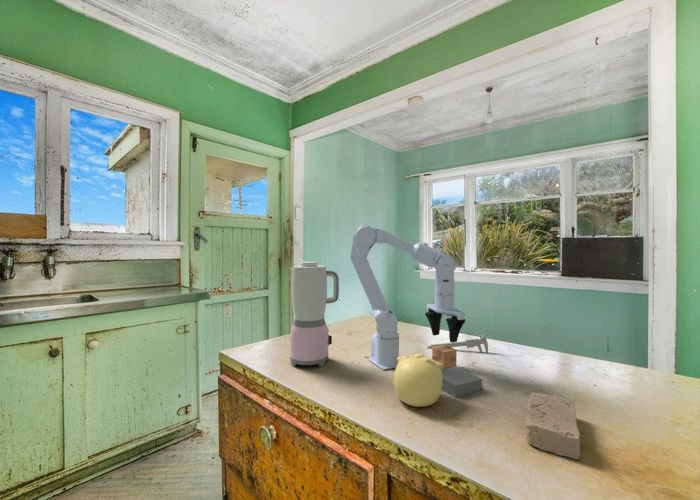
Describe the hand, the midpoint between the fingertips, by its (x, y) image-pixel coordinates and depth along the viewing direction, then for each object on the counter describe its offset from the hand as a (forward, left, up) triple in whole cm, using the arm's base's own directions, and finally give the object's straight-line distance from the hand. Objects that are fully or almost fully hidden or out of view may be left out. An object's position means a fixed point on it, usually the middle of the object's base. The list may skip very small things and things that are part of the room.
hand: (444, 338), depth 95 cm
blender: (-22, -34, -9) cm, 42 cm away
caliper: (-10, +15, -10) cm, 20 cm away
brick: (+34, -3, -10) cm, 35 cm away
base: (+11, -6, -9) cm, 15 cm away
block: (0, 0, -9) cm, 9 cm away
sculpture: (+12, -20, -9) cm, 25 cm away
